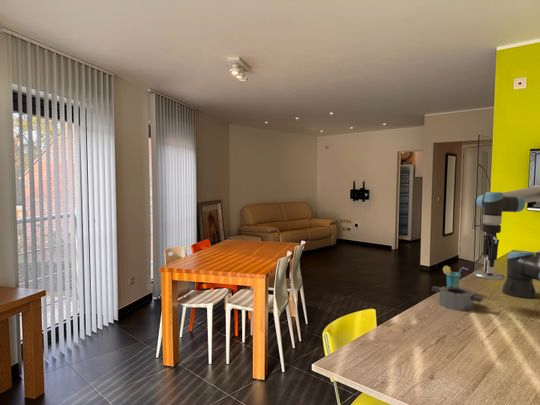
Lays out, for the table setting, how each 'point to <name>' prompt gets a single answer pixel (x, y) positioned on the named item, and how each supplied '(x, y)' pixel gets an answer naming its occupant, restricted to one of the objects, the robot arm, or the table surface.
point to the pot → (456, 297)
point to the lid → (488, 275)
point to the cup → (452, 276)
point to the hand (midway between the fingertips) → (488, 272)
